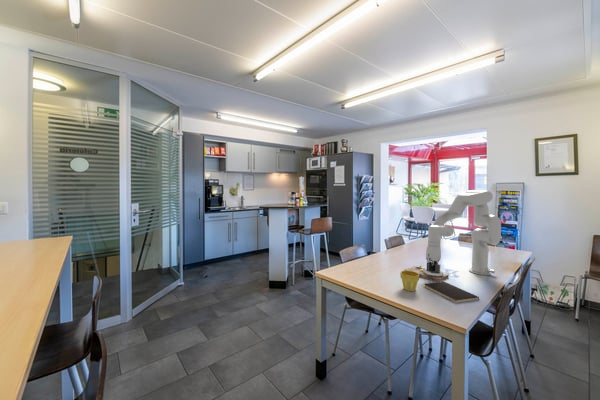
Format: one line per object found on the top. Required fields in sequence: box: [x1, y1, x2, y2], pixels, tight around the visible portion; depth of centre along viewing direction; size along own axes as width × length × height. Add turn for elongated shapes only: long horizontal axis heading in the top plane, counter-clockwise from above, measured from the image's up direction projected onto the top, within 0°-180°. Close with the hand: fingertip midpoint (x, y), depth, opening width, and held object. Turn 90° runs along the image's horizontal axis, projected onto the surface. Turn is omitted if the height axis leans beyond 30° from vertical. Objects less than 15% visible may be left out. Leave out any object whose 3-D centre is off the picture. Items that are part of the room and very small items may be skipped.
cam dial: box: [420, 261, 444, 277], centre depth 173 cm, size 15×12×7 cm
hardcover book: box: [423, 281, 480, 304], centre depth 146 cm, size 16×23×2 cm
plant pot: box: [399, 270, 420, 292], centre depth 151 cm, size 10×10×10 cm
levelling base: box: [403, 265, 449, 283], centre depth 176 cm, size 24×14×4 cm, turn 38°
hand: (433, 270), depth 172 cm, fingers closed on cam dial, 3 cm apart
